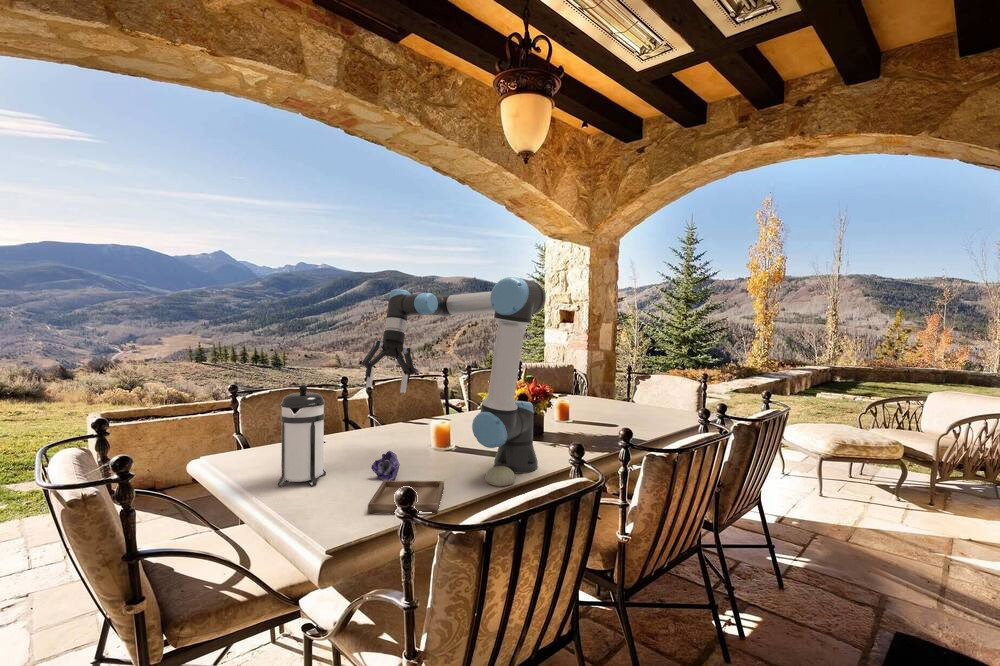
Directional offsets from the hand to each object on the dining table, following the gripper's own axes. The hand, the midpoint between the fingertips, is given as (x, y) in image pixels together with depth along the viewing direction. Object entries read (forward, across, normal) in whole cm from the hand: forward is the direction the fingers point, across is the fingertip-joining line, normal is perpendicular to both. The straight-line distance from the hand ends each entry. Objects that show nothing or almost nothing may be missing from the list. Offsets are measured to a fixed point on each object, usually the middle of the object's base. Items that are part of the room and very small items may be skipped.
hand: (386, 390), depth 161 cm
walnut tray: (+32, +5, +31) cm, 45 cm away
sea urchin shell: (+27, -24, +37) cm, 52 cm away
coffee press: (+31, +21, -5) cm, 38 cm away
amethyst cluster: (+29, 0, +10) cm, 30 cm away
